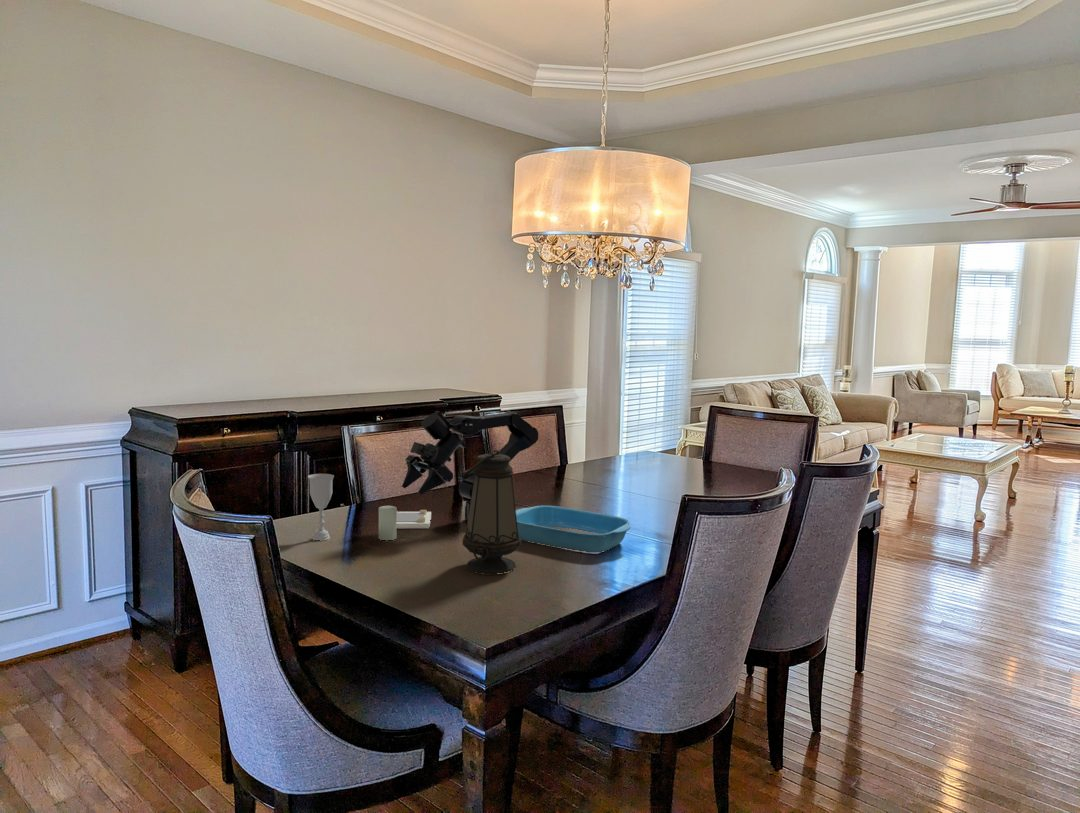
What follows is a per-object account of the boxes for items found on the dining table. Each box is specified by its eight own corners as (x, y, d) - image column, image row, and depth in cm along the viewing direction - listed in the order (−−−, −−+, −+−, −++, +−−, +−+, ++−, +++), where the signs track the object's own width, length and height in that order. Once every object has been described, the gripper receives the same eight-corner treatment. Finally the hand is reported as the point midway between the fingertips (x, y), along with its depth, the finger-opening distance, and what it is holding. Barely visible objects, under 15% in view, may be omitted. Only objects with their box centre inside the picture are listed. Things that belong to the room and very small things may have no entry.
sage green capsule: (400, 538, 209) (400, 507, 208) (387, 542, 205) (387, 511, 204) (387, 535, 211) (388, 504, 210) (374, 538, 207) (374, 508, 206)
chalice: (339, 537, 208) (339, 475, 206) (325, 543, 202) (324, 479, 200) (317, 533, 210) (317, 472, 208) (302, 540, 204) (302, 477, 202)
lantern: (509, 582, 176) (512, 459, 173) (450, 574, 180) (452, 455, 176) (529, 559, 194) (533, 447, 190) (475, 552, 197) (478, 443, 194)
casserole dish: (494, 539, 211) (494, 515, 210) (534, 523, 230) (535, 500, 229) (608, 564, 192) (609, 537, 191) (642, 544, 211) (643, 520, 210)
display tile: (431, 516, 233) (431, 508, 233) (429, 528, 220) (429, 520, 219) (386, 516, 232) (386, 508, 231) (382, 528, 218) (382, 520, 218)
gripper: (411, 428, 220) (378, 467, 214) (444, 436, 206) (410, 479, 200) (433, 451, 226) (401, 490, 220) (467, 461, 212) (434, 503, 206)
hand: (411, 490), depth 212 cm, fingers open, 9 cm apart
